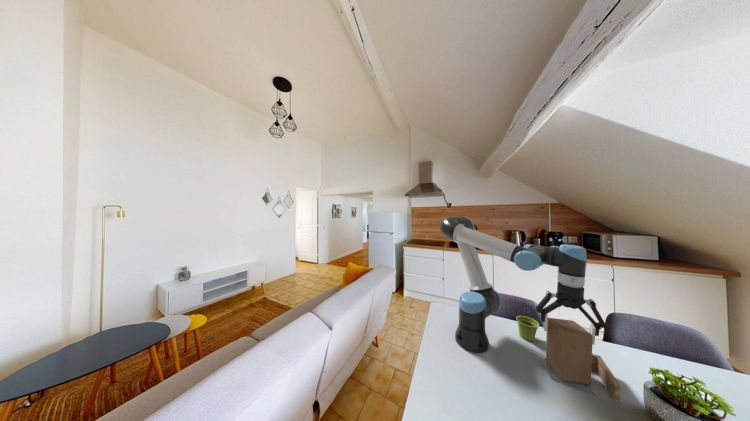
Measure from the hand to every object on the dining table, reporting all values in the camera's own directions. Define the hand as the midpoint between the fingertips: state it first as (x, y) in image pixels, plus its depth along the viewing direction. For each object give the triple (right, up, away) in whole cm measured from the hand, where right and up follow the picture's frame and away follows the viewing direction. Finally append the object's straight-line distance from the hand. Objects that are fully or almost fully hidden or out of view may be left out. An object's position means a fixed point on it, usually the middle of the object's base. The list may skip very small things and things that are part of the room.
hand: (567, 335), depth 78 cm
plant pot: (+1, -15, +22) cm, 27 cm away
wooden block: (0, -16, +1) cm, 16 cm away
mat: (0, -16, 0) cm, 16 cm away
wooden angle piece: (+5, -16, 0) cm, 17 cm away
